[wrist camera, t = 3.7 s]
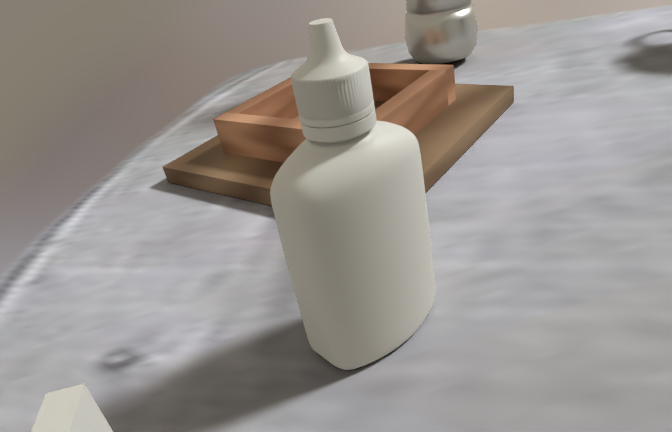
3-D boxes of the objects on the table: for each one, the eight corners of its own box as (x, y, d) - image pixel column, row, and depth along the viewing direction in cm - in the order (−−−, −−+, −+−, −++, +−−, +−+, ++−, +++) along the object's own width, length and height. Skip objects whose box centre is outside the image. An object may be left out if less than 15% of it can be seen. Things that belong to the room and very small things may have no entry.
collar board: (513, 102, 39) (513, 51, 37) (387, 232, 27) (378, 167, 25) (319, 91, 49) (311, 50, 47) (168, 182, 38) (149, 133, 36)
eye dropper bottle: (300, 310, 23) (223, 29, 17) (422, 275, 24) (389, -8, 18) (319, 384, 20) (229, 60, 14) (462, 341, 20) (438, 11, 14)
